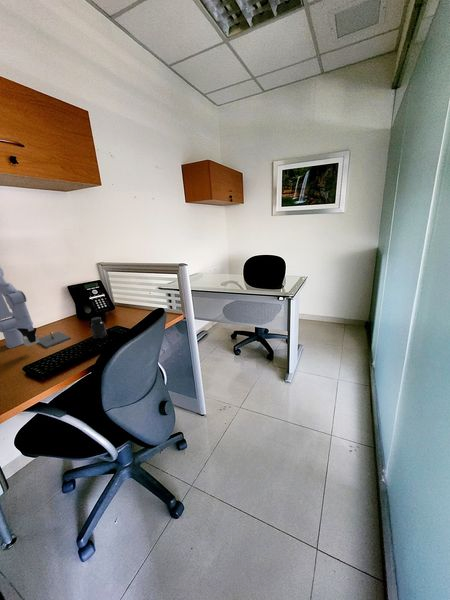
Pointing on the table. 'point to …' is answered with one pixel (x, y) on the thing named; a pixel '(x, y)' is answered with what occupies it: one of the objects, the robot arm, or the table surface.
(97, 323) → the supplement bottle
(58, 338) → the junction plate
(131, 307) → the table surface
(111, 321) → the table surface
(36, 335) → the collar
